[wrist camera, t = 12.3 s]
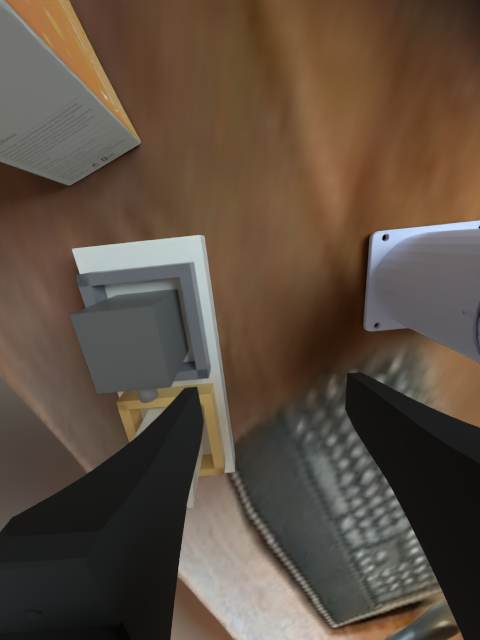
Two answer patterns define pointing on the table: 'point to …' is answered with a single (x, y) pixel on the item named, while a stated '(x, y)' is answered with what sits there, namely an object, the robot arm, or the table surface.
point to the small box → (55, 95)
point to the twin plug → (133, 342)
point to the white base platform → (199, 322)
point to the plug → (156, 411)
